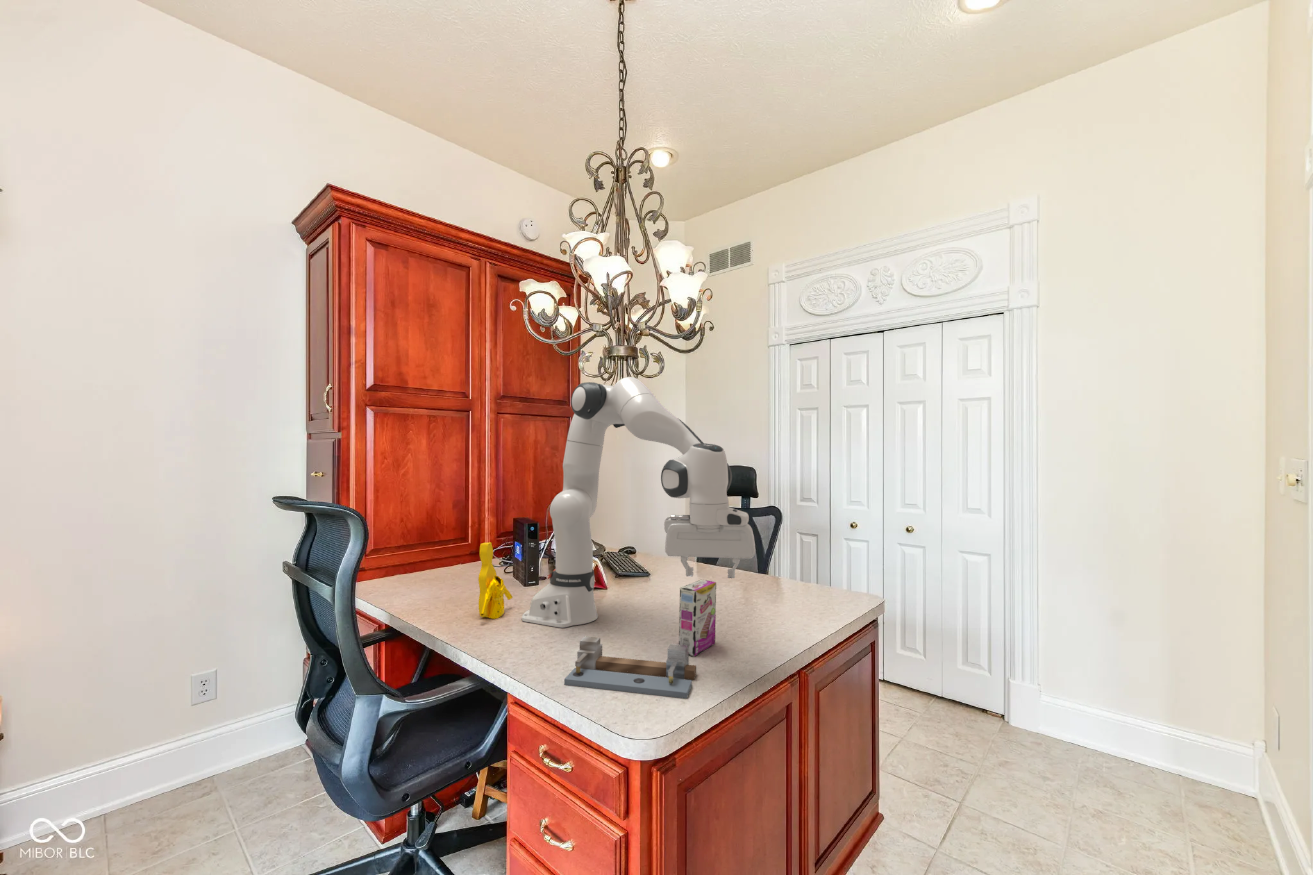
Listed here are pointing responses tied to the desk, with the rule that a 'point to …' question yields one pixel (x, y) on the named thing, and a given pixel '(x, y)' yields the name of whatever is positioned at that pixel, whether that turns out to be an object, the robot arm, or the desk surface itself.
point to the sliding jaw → (677, 661)
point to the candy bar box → (697, 616)
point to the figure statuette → (490, 586)
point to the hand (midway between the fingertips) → (710, 576)
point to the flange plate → (629, 683)
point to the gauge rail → (619, 661)
